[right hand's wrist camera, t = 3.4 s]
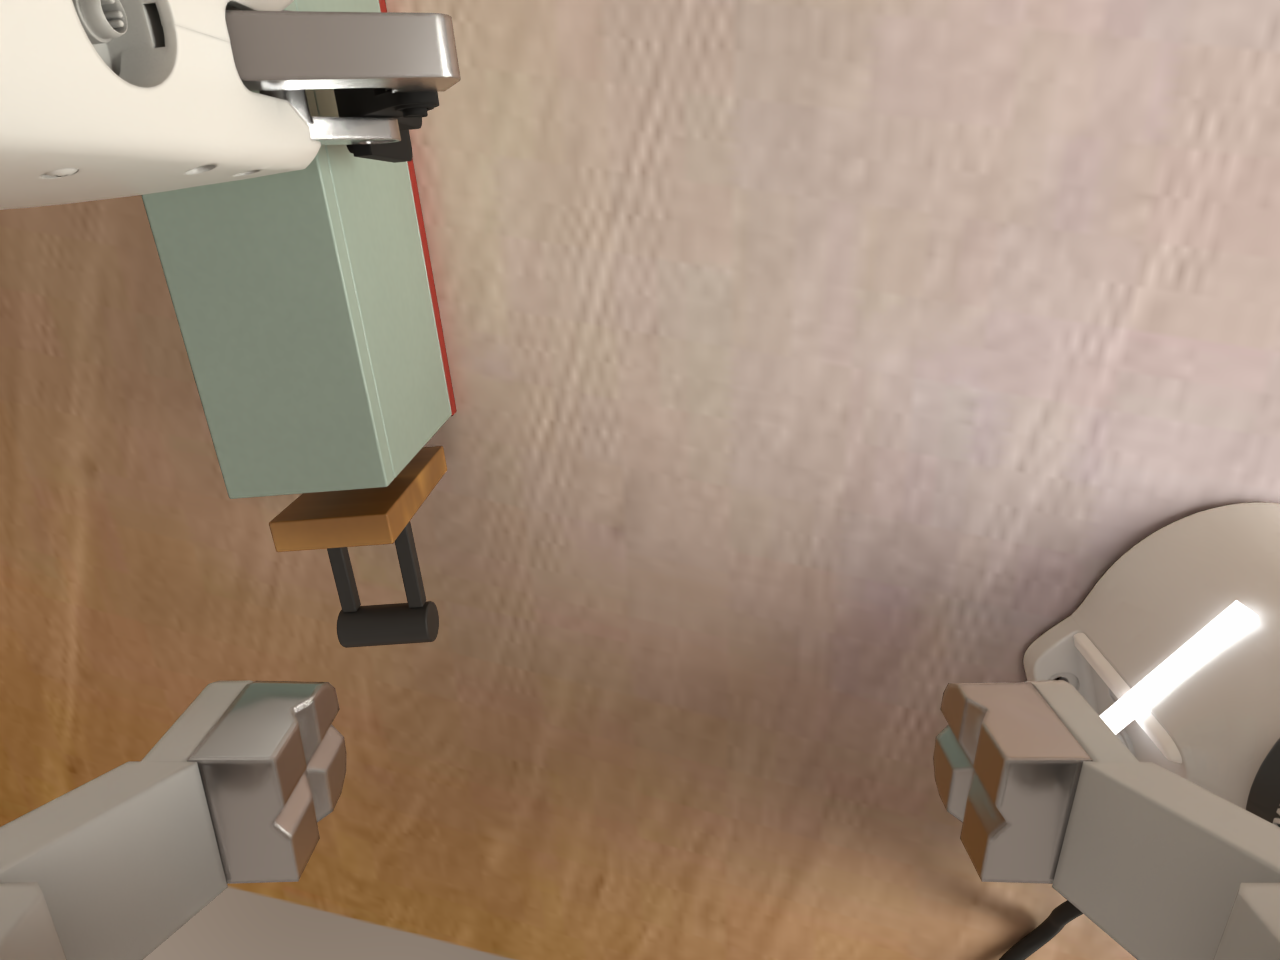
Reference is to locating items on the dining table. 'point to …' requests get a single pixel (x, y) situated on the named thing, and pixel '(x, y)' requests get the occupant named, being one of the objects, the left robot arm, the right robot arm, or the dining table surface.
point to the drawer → (365, 523)
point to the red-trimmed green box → (309, 315)
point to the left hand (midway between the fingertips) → (243, 122)
